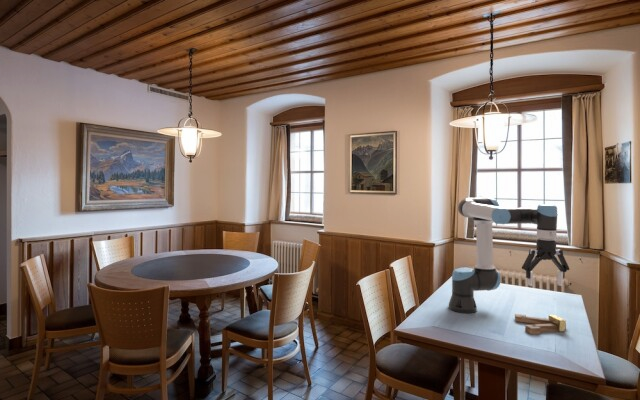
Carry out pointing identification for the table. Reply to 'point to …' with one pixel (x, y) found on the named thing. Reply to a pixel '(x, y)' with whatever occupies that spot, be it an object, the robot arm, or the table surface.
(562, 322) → the lock collar
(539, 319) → the tongs moving arm
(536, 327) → the tongs fixed arm
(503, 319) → the table surface
